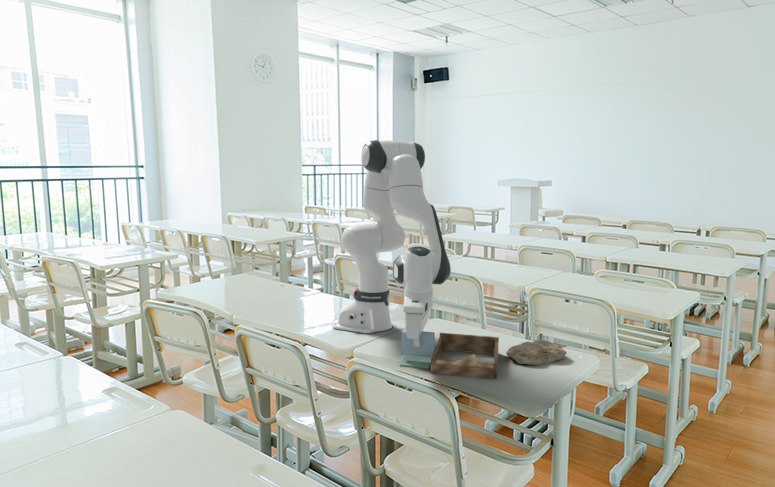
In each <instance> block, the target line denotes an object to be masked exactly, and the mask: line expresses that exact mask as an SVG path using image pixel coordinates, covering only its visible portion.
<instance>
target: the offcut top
mask: <svg viewBox="0 0 775 487" xmlns="http://www.w3.org/2000/svg"><path fill="white" fill-rule="evenodd" d="M456 360H457V361H456V366H463V367H474V366H477V365H478V362H479V361H478V358H477V356H476V354H475V353H473V354H471V355H468V356H466V357H463V358H459V359H456Z"/></svg>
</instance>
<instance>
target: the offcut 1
mask: <svg viewBox="0 0 775 487" xmlns="http://www.w3.org/2000/svg"><path fill="white" fill-rule="evenodd" d="M435 364H440V365H451V366H456V361H444V360H436V363H435Z"/></svg>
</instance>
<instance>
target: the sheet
mask: <svg viewBox="0 0 775 487" xmlns="http://www.w3.org/2000/svg"><path fill="white" fill-rule="evenodd" d="M435 336H436V335H435V332H434V331H424V330H423V331H422V333H421V335H420V346H419V347H415V346H414V340H413V339H409V338H407V335H406V329H403V330H402V331H401V336H400V337H401V343H400V344H401V345H400V347H401V348H400V350H401V351H400V352H401V353H400V354H401V355H415V356H427V357H432V355H433V352H434V350H435Z"/></svg>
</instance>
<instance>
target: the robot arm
mask: <svg viewBox="0 0 775 487" xmlns="http://www.w3.org/2000/svg"><path fill="white" fill-rule="evenodd" d="M360 159H361V164H362V166H363V167H364V169H365V170H366V174H365V180H364V189H363V197H362V207H363V209H364V210H365V211H366V212H367V213H368V214H370V215H371V216H372V222H371V223H362V224H355V225H351V226H349V227H346V228H345V229H344V230H343V232H342V234H341V241H340V242H341V245H342V246H341V247H342V248H343V250H344V251H345V252H346V253H348V254H349V256H351V257H352V259H353V261H354V262H355V265H356V268H357V273H358V287H356V288H355V290H353V292H352V296H353V299H352V300H350V301H349V302H347V303H346V304H345V305H343V307H341V309H340V311H339V314H338V318H336V319H335V320H334V321H333V322H332V328H333V329H335V330H342V331H347V332H348V331H350V332H353V333H354V332H355V333H356V332H357V333H361V334H362V333H363V334H372V333H376V332H383V331H387V330H390V329H392V328H393V323H392V319H391V314H390V302H391V299H390V298H391V292H390V289H389V273H390V272H389V269H388V268H387V266H386V265H385V264H383V263H381V262H379V260H378V256H377V254H378V253H388V252H389V253H390V252H393V251H395V250H398V249H400V248H402V247H403V245H404V243H405V241H406V233H405V230H404V228H403V227H402V226H401V225H400V224H399V223H398V221H397V219H396V217H395V212H396V213H397V214H399V215H401V216H402V217H404V218H407V219H409V220H412V221H415V222H417V223H419V224H420V225H422V227H423V228H424V229H425V232H426V236H427V237H426V238H427V242H428V245H429V246H428V247H429V249H428V247H424V246H419V245H418V246H411V247H408V248H407V249H406V250H405V253H404V254H401V255H398V256H397V257H395V260H393V261H392V277H393V279H394V280H395V281H396V282H397V283H398V284H400V285H404V289H403V305H402V306H403V307H402V312H403V313H404V314H405V316H404V318H405V321H404V323H405V330H406V335H407V338H409V339H413V340H414V346H415V347H419V346H420V335H421V333H422V331H423V332H424V329H425V327H426V325H427V323H428V321H429V310H430V309H431V308H433V304H434V302H433V301H434V290H433V285H443V284H444V283H445V282H446V281H447V280H448V279H449V278H450V276H451V274H452V271H451V270H452V269H451V263H450V260H449V257H448V255H447V254H448V253H447V252H446V248H445V243H444V239H443V234H442V229H441V226H440V221H439V218H438V214H437V211H436V209H435V206H434V205H433V204H431V203H430V202H429V201H428V200H427V197H426V195H425V193H424V183H423V176H422V170H421V169H422V168H423V167H424V164H425V162H426V161H425V160H426V154H425V150H424V147H423V146H422V145H421V144H420V143H417V142H413V141H405V140H397V139H394V140H377V139H375V140H374V139H372V140H369V141H367V142H365V143H364V145H363V147H362V150H361V158H360ZM394 211H395V212H394Z"/></svg>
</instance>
